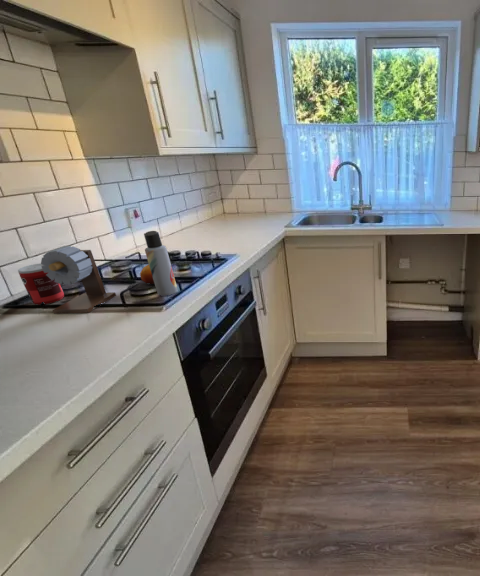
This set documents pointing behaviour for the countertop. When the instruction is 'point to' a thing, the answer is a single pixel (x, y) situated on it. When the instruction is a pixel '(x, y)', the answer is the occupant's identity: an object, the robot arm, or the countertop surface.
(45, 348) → the countertop surface
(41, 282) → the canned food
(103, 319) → the countertop surface
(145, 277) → the fruit
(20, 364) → the countertop surface
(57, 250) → the grey gear
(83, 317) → the countertop surface
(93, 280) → the hook stand
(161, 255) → the lotion bottle
